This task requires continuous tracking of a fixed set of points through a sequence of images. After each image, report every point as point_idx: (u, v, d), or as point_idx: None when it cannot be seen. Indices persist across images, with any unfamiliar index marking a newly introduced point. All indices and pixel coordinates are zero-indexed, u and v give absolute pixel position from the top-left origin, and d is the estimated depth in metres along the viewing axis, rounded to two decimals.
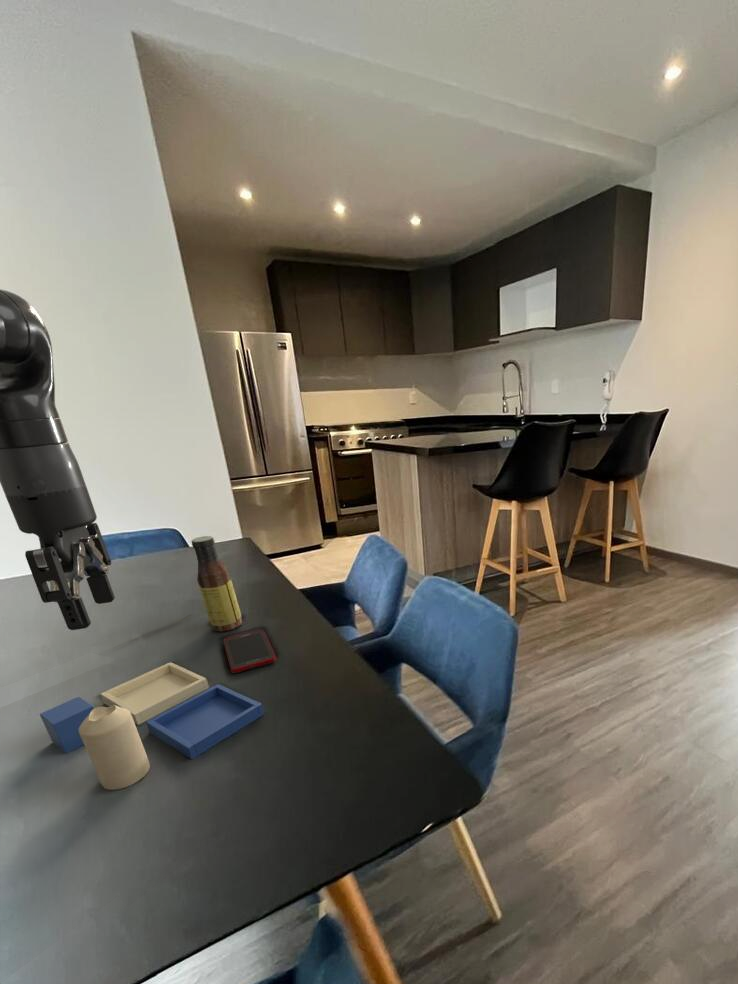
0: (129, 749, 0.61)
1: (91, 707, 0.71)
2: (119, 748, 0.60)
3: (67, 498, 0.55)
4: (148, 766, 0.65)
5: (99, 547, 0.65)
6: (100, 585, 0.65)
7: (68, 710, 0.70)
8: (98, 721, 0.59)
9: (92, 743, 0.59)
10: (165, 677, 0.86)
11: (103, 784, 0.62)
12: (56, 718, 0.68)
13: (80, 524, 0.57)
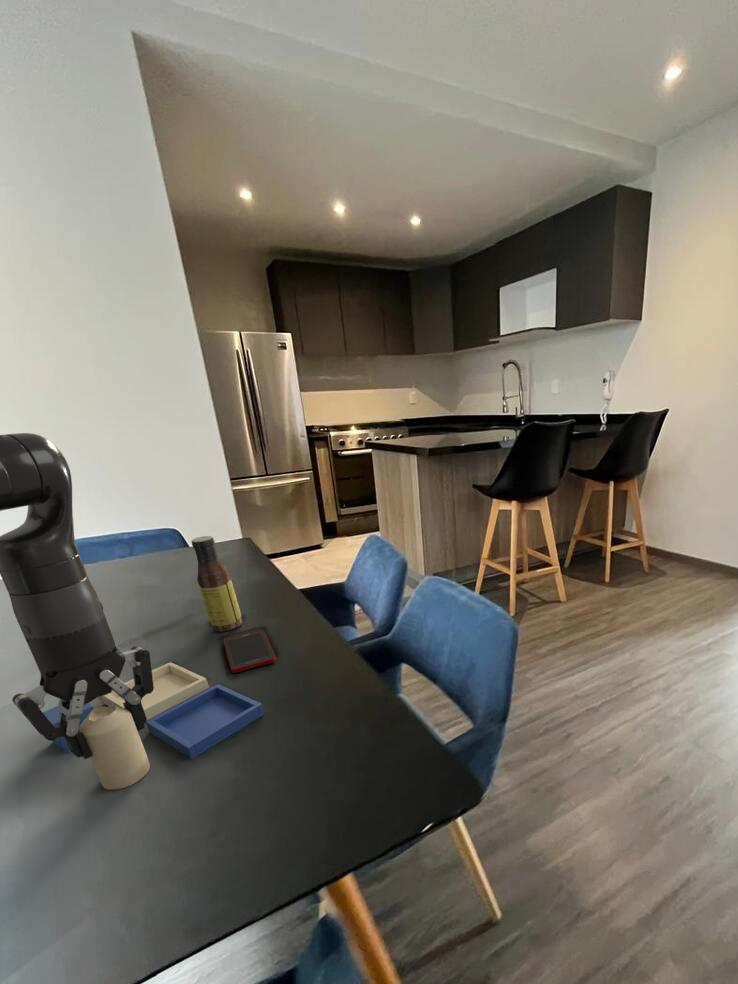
0: (129, 749, 0.61)
1: (91, 707, 0.71)
2: (119, 748, 0.60)
3: (51, 645, 0.53)
4: (148, 766, 0.65)
5: (140, 674, 0.63)
6: None
7: None
8: (98, 721, 0.59)
9: (92, 742, 0.59)
10: (165, 677, 0.86)
11: (103, 784, 0.62)
12: (56, 718, 0.68)
13: (66, 669, 0.54)
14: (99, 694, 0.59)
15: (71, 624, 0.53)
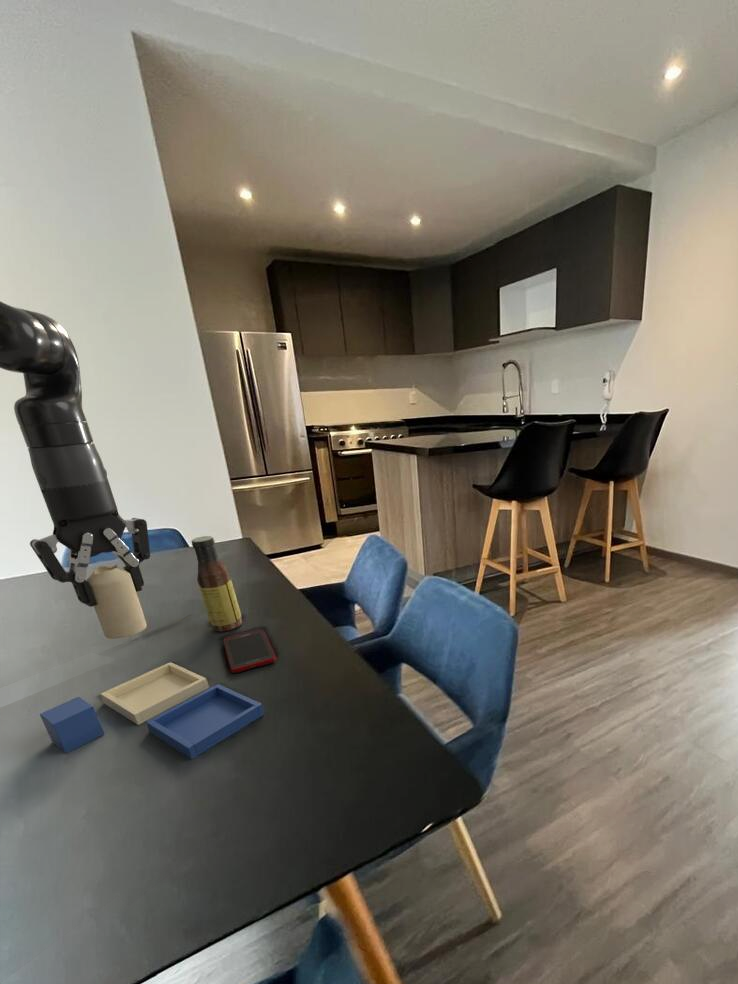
0: (128, 603, 0.71)
1: (91, 707, 0.71)
2: (120, 600, 0.70)
3: (63, 494, 0.62)
4: (145, 624, 0.74)
5: (138, 540, 0.72)
6: None
7: (68, 710, 0.70)
8: (102, 574, 0.69)
9: (97, 592, 0.69)
10: (165, 677, 0.86)
11: (106, 633, 0.71)
12: (56, 718, 0.68)
13: (75, 518, 0.64)
14: (103, 550, 0.69)
15: (80, 478, 0.63)
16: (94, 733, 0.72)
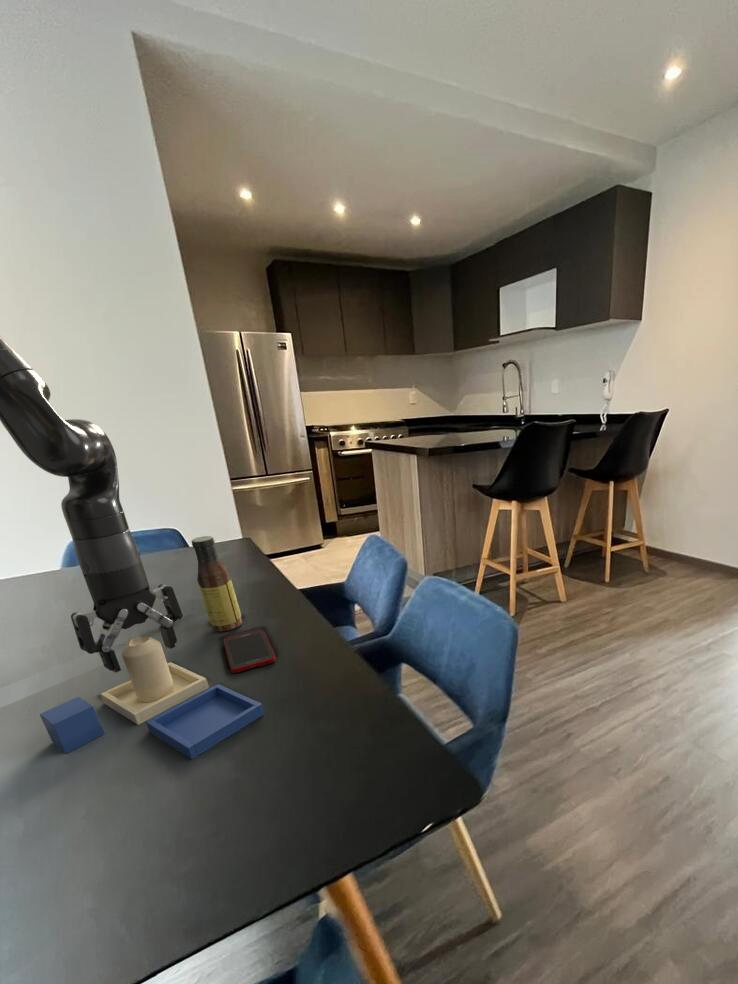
0: (160, 670, 0.79)
1: (91, 707, 0.71)
2: (153, 668, 0.78)
3: (103, 578, 0.70)
4: (173, 687, 0.82)
5: (170, 605, 0.80)
6: (164, 634, 0.81)
7: (68, 710, 0.70)
8: (137, 646, 0.76)
9: (132, 663, 0.76)
10: None
11: (139, 698, 0.79)
12: (56, 718, 0.68)
13: (114, 598, 0.71)
14: (136, 622, 0.76)
15: (118, 563, 0.70)
16: (94, 733, 0.72)
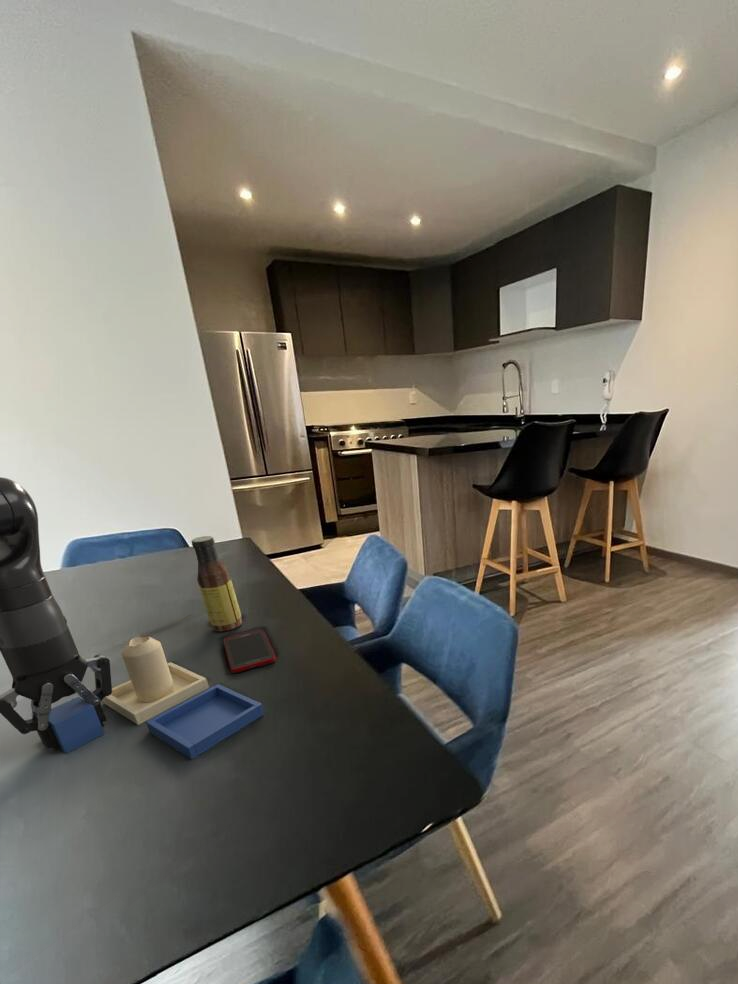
0: (160, 670, 0.79)
1: (91, 707, 0.71)
2: (153, 668, 0.78)
3: (20, 654, 0.63)
4: (173, 687, 0.82)
5: (100, 678, 0.72)
6: None
7: (68, 710, 0.70)
8: (137, 646, 0.76)
9: (132, 663, 0.76)
10: None
11: (139, 698, 0.79)
12: (56, 718, 0.68)
13: (33, 674, 0.64)
14: (64, 695, 0.69)
15: (37, 636, 0.63)
16: (94, 733, 0.72)
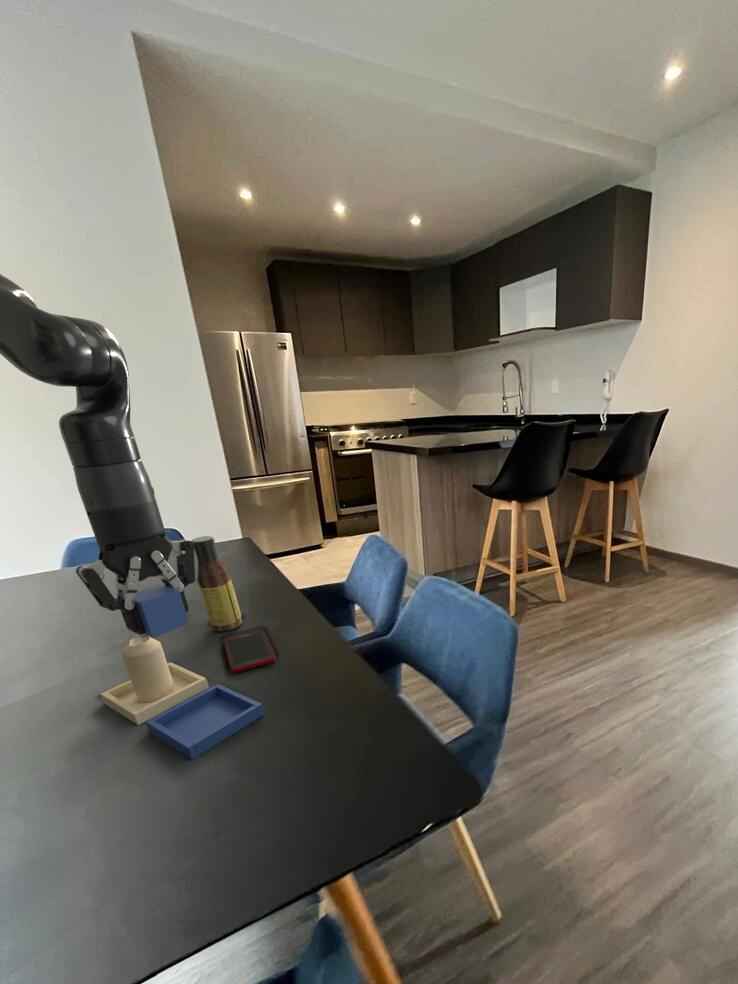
0: (160, 670, 0.79)
1: (177, 591, 0.66)
2: (153, 668, 0.78)
3: (111, 516, 0.58)
4: (173, 687, 0.82)
5: (184, 563, 0.68)
6: None
7: (152, 593, 0.65)
8: (137, 646, 0.76)
9: (132, 663, 0.76)
10: None
11: (139, 698, 0.79)
12: (142, 599, 0.63)
13: (124, 541, 0.59)
14: (150, 574, 0.64)
15: (129, 498, 0.58)
16: (179, 621, 0.67)
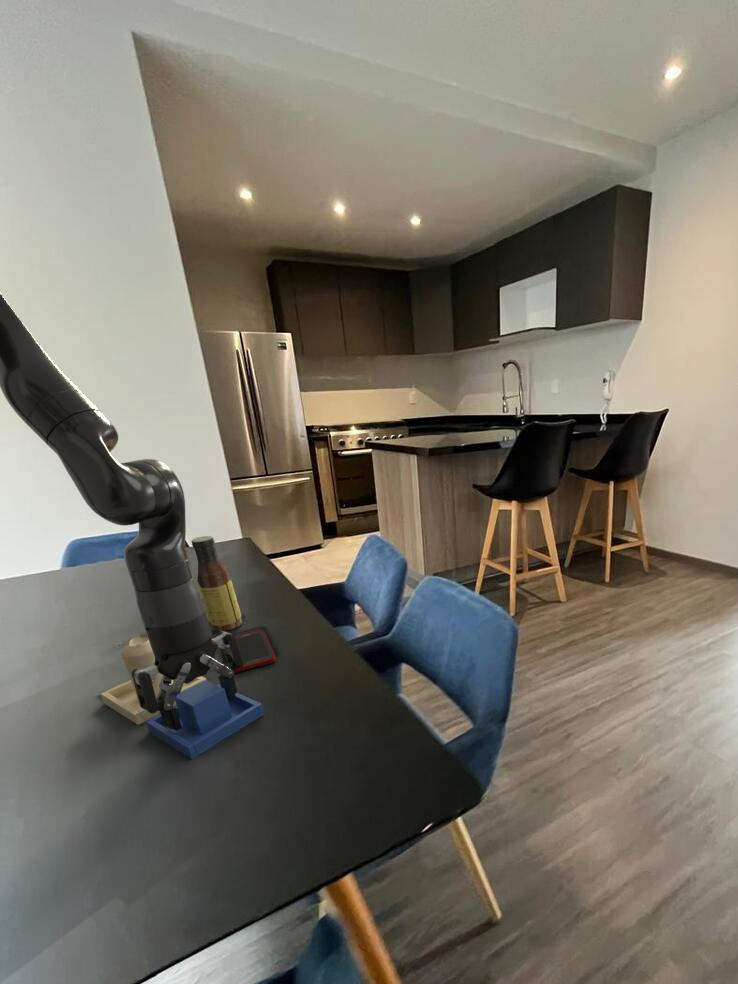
0: None
1: (223, 690, 0.72)
2: None
3: (168, 633, 0.64)
4: None
5: (231, 654, 0.74)
6: (224, 685, 0.75)
7: (201, 693, 0.71)
8: (137, 646, 0.76)
9: (132, 663, 0.76)
10: None
11: None
12: (192, 700, 0.70)
13: (178, 653, 0.65)
14: (198, 675, 0.70)
15: (184, 615, 0.64)
16: (224, 716, 0.73)
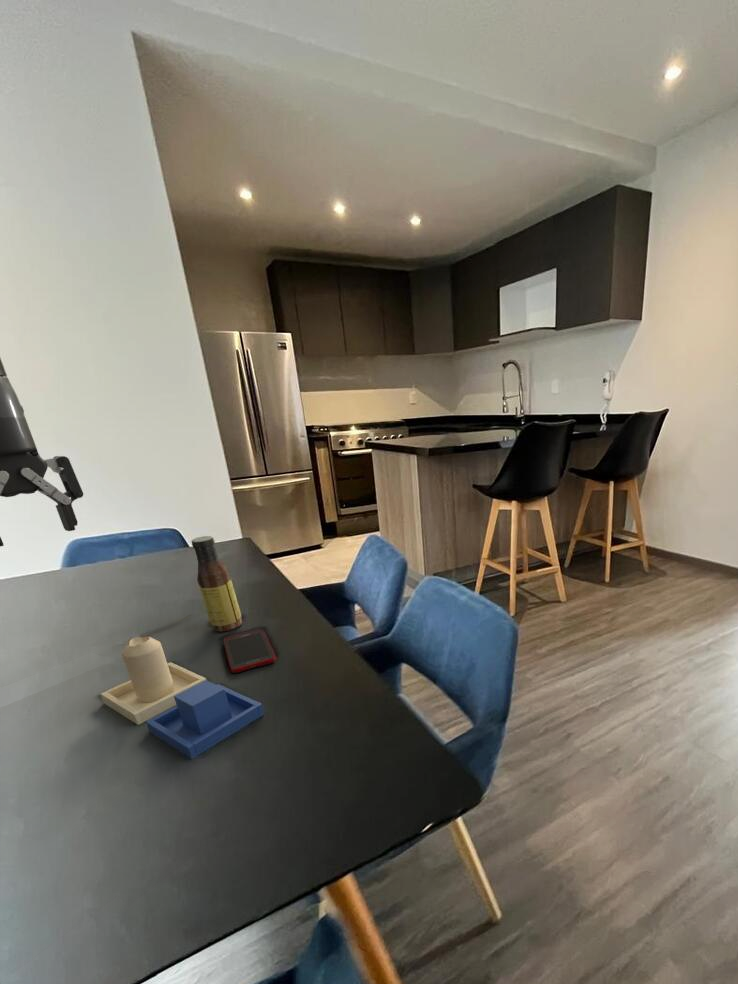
0: (160, 670, 0.79)
1: (223, 690, 0.72)
2: (153, 668, 0.78)
3: None
4: (173, 687, 0.82)
5: (66, 479, 0.71)
6: (62, 514, 0.71)
7: (201, 693, 0.71)
8: (137, 646, 0.76)
9: (132, 663, 0.76)
10: None
11: (139, 698, 0.79)
12: (192, 700, 0.70)
13: None
14: (22, 491, 0.67)
15: None
16: (224, 716, 0.73)
